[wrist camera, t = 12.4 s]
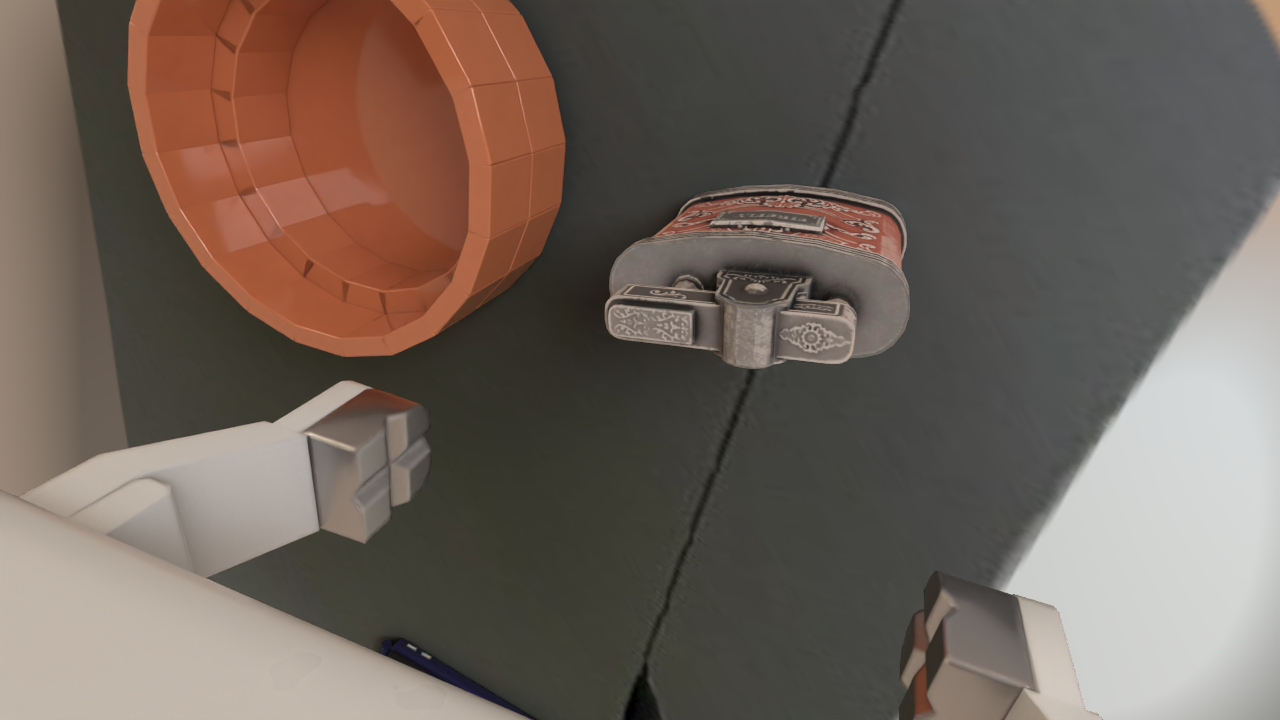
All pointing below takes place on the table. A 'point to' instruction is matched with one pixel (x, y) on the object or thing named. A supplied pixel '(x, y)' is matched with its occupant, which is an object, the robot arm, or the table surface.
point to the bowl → (350, 156)
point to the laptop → (438, 670)
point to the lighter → (767, 277)
